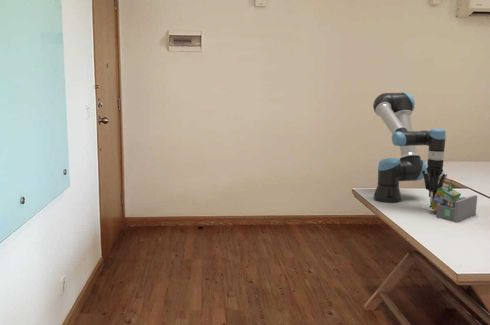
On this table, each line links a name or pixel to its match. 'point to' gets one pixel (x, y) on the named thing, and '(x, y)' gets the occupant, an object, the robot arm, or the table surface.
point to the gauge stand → (458, 209)
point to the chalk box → (444, 196)
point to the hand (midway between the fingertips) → (432, 203)
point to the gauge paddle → (452, 202)
